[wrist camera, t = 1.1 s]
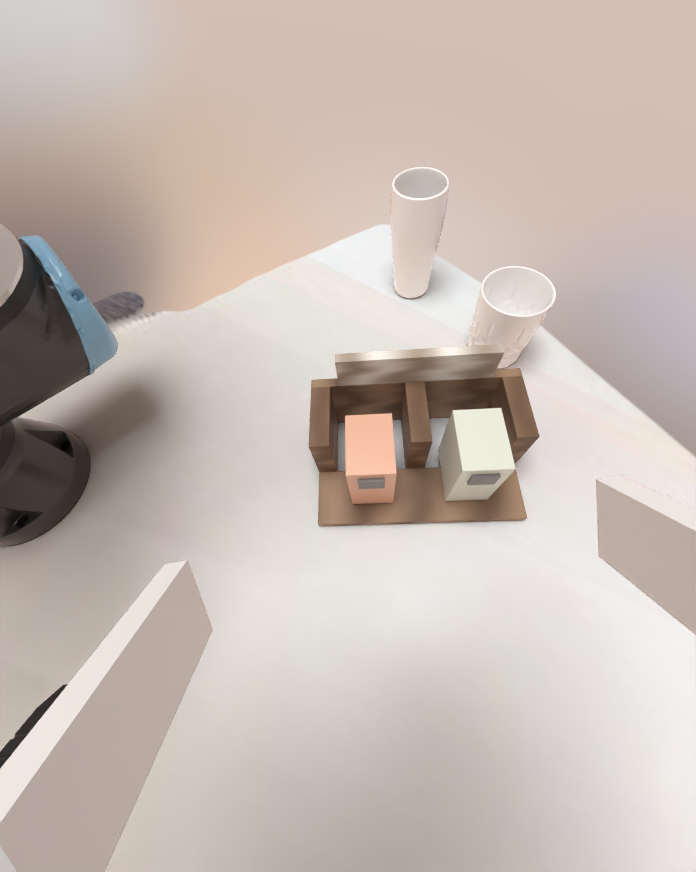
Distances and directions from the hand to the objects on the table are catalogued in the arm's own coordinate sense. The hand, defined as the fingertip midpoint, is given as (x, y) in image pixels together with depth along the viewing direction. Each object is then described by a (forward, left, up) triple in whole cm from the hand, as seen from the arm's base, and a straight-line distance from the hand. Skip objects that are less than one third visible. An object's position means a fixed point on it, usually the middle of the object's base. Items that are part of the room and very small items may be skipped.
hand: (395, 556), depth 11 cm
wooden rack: (+2, +14, -27) cm, 31 cm away
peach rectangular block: (-3, +12, -26) cm, 29 cm away
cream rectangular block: (+7, +13, -26) cm, 30 cm away
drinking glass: (-1, +44, -28) cm, 52 cm away
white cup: (+11, +33, -28) cm, 44 cm away
